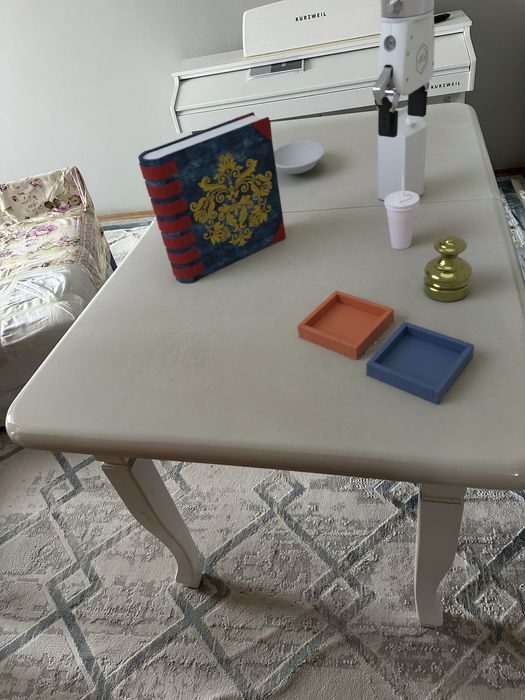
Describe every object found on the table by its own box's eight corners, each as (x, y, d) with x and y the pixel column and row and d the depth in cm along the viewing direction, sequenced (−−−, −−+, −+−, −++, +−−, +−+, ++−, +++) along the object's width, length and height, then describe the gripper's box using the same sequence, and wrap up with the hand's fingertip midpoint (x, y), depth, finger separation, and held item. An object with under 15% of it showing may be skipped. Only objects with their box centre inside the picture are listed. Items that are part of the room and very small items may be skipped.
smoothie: (423, 239, 102) (426, 169, 92) (410, 255, 98) (412, 185, 89) (392, 233, 105) (393, 166, 96) (378, 249, 101) (378, 181, 92)
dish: (323, 184, 127) (322, 164, 124) (266, 188, 130) (263, 169, 127) (328, 156, 140) (327, 137, 137) (276, 160, 143) (274, 142, 140)
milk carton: (377, 199, 117) (377, 111, 105) (397, 187, 120) (399, 100, 108) (403, 207, 112) (406, 116, 100) (423, 194, 116) (428, 104, 103)
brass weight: (426, 276, 92) (429, 225, 86) (471, 279, 89) (478, 227, 83) (419, 300, 87) (422, 248, 81) (466, 305, 85) (473, 251, 78)
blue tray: (472, 357, 76) (474, 344, 74) (437, 404, 70) (439, 392, 68) (403, 332, 82) (404, 321, 80) (366, 375, 76) (366, 363, 75)
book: (183, 288, 101) (145, 164, 85) (168, 274, 106) (130, 154, 90) (287, 238, 110) (271, 117, 94) (269, 228, 114) (251, 110, 98)
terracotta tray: (393, 320, 84) (393, 308, 83) (356, 360, 79) (356, 348, 77) (336, 301, 91) (336, 290, 89) (298, 336, 85) (297, 325, 83)
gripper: (401, 19, 69) (397, 147, 80) (458, -9, 78) (447, 110, 89) (352, 19, 73) (355, 141, 84) (412, -7, 82) (407, 106, 93)
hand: (402, 125), depth 87 cm, fingers open, 9 cm apart
